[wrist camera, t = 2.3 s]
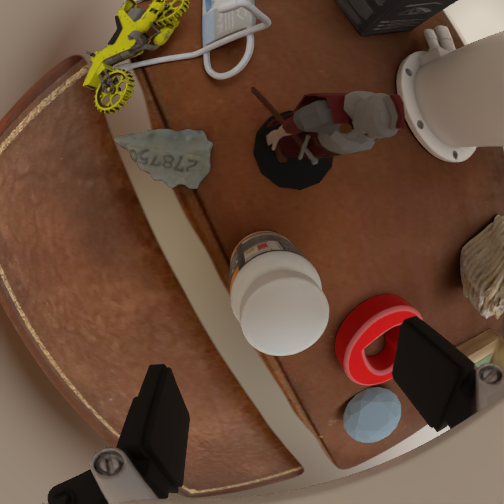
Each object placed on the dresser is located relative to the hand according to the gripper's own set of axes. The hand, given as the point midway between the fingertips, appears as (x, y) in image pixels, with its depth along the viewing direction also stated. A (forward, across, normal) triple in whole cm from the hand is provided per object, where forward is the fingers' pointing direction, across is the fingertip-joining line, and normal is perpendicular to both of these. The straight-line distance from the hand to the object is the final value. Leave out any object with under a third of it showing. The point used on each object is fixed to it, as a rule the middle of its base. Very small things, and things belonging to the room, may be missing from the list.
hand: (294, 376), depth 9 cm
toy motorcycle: (+10, +5, -18) cm, 22 cm away
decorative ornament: (+14, -12, +10) cm, 21 cm away
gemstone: (+14, -12, +21) cm, 28 cm away
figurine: (+14, -4, -10) cm, 18 cm away
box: (+14, -16, -25) cm, 32 cm away
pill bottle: (+14, -1, 0) cm, 14 cm away
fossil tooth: (+14, -28, +3) cm, 31 cm away
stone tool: (+13, +5, -13) cm, 19 cm away
